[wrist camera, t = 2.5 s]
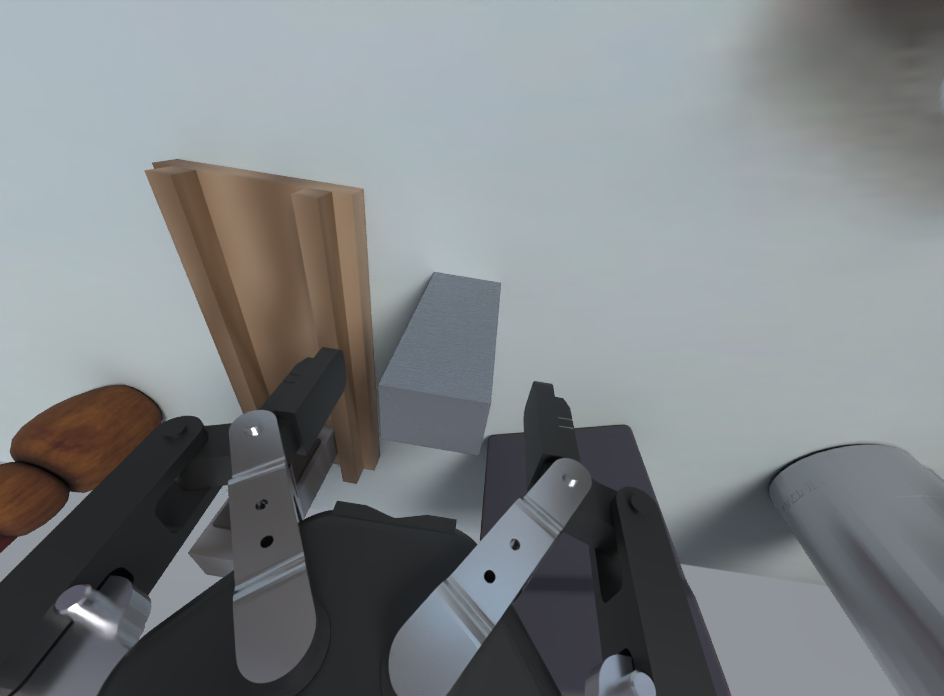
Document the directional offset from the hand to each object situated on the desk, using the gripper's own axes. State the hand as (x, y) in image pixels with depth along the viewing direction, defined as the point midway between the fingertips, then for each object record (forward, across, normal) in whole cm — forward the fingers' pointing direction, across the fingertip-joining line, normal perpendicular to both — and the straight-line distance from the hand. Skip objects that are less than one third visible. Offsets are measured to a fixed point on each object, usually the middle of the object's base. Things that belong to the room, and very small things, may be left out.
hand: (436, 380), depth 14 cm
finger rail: (+8, +11, +6) cm, 15 cm away
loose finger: (+8, 0, 0) cm, 8 cm away
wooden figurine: (+8, +28, +16) cm, 33 cm away
